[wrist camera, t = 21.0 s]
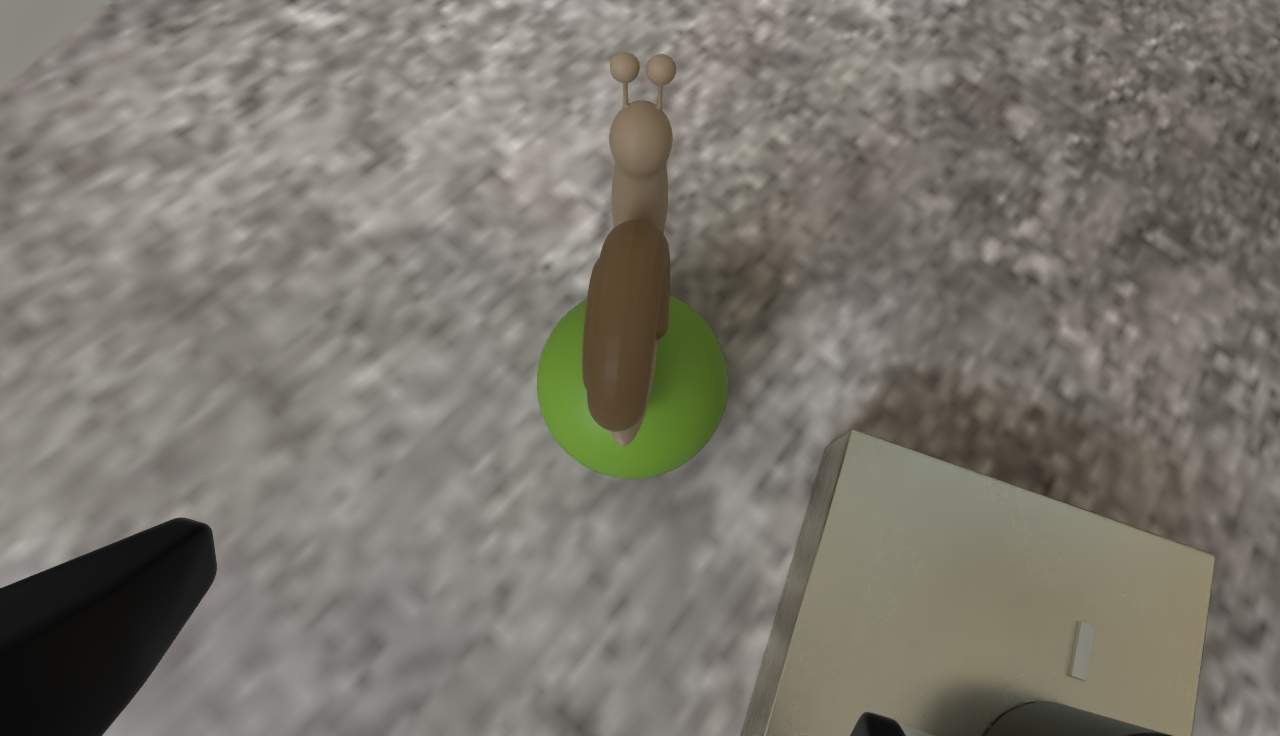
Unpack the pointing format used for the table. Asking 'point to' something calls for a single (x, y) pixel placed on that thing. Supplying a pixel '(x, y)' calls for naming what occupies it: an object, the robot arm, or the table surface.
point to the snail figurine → (634, 322)
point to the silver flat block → (973, 606)
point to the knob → (1062, 723)
